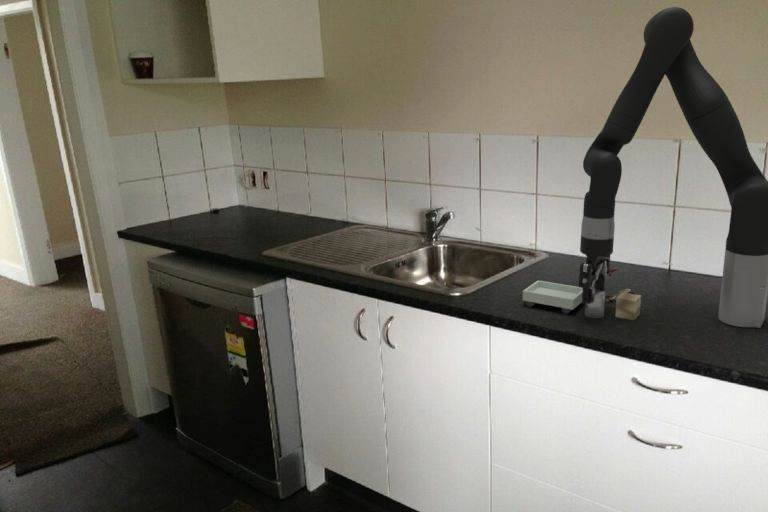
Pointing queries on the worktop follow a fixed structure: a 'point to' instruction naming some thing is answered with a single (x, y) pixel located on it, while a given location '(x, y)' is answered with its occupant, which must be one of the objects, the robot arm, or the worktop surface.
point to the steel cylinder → (596, 305)
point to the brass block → (628, 306)
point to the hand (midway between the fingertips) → (593, 297)
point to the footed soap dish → (553, 295)
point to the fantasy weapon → (613, 297)
